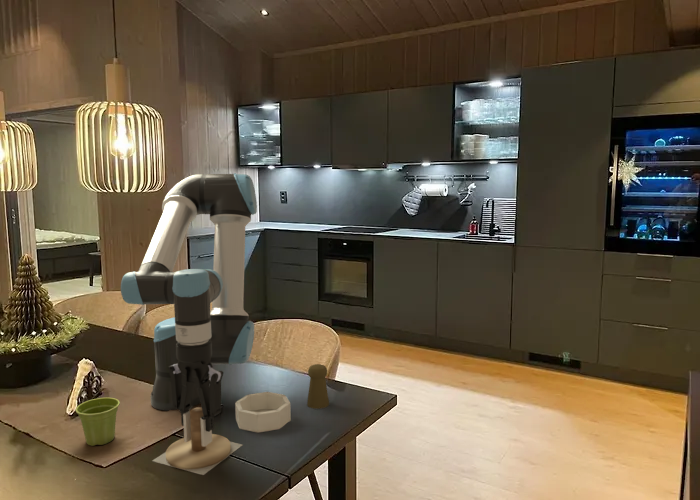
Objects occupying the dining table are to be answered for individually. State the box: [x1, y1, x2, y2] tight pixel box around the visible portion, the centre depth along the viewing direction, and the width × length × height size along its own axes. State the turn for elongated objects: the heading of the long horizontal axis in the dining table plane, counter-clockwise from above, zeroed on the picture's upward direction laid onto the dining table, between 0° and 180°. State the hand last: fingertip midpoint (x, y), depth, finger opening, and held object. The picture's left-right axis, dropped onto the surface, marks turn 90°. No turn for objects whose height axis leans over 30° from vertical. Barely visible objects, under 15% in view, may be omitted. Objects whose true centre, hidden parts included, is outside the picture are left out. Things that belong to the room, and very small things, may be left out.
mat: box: [152, 441, 243, 476], centre depth 121 cm, size 14×14×1 cm
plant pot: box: [75, 397, 121, 446], centre depth 128 cm, size 9×9×9 cm
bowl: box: [234, 391, 292, 433], centre depth 137 cm, size 13×13×5 cm
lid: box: [165, 406, 231, 470], centre depth 121 cm, size 14×14×10 cm
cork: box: [306, 363, 330, 410], centre depth 147 cm, size 6×6×11 cm
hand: (198, 441), depth 121 cm, fingers open, 4 cm apart
